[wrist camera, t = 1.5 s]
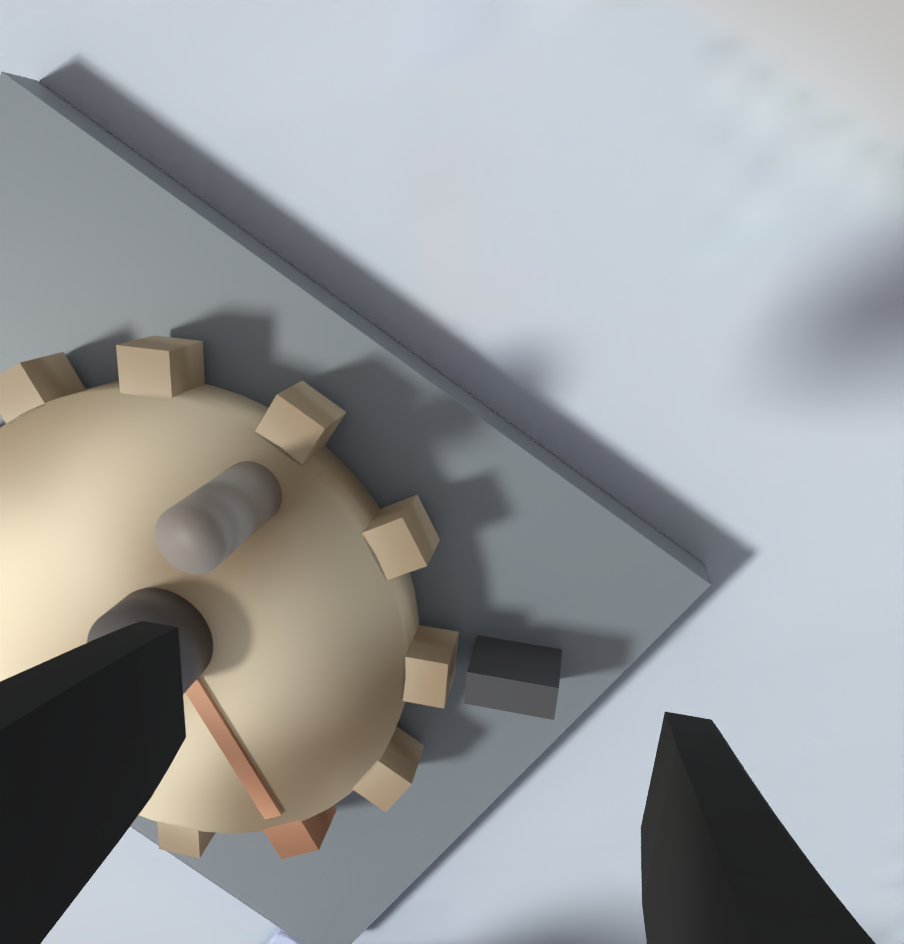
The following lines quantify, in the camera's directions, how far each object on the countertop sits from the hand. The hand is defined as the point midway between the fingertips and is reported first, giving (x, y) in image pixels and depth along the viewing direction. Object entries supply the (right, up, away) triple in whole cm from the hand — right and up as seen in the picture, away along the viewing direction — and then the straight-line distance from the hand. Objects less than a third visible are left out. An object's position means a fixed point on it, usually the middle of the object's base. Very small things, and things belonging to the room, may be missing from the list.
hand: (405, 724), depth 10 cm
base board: (-7, 0, +13) cm, 14 cm away
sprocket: (-7, 0, +11) cm, 13 cm away
